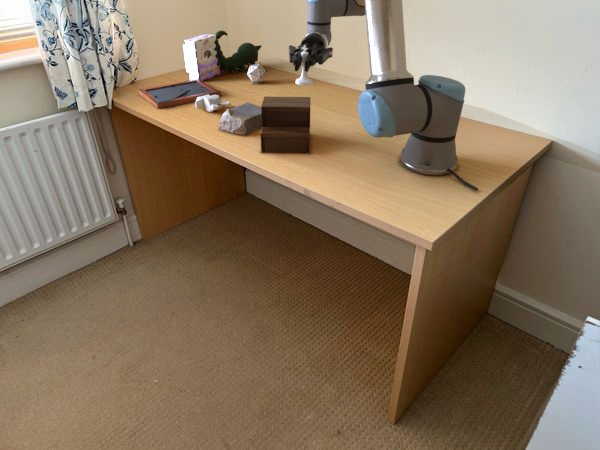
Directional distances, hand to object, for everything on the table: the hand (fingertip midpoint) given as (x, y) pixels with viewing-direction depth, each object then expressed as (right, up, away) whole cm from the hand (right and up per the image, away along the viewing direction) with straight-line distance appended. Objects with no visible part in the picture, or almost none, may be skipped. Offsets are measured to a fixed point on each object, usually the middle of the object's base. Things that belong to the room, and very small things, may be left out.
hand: (301, 66), depth 113 cm
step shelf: (-4, -17, +18) cm, 25 cm away
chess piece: (+1, -2, +8) cm, 8 cm away
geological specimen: (-18, -9, +29) cm, 35 cm away
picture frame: (-47, +9, +55) cm, 73 cm away
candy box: (-41, +22, +75) cm, 88 cm away
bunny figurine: (-32, -1, +41) cm, 52 cm away
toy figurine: (-28, +29, +84) cm, 93 cm away
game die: (-18, +18, +69) cm, 73 cm away
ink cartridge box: (-46, +27, +82) cm, 98 cm away
